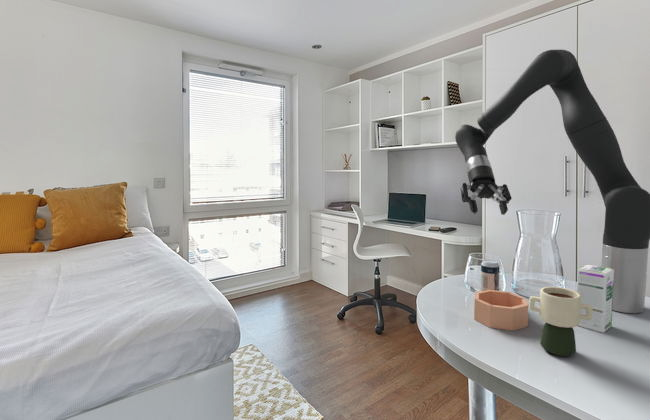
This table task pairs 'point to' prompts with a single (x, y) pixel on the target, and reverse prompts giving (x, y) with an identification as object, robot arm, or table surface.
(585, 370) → the table surface
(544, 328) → the character mug
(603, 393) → the table surface
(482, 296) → the terracotta bowl
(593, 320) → the syrup box
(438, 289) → the table surface
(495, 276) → the beer can
